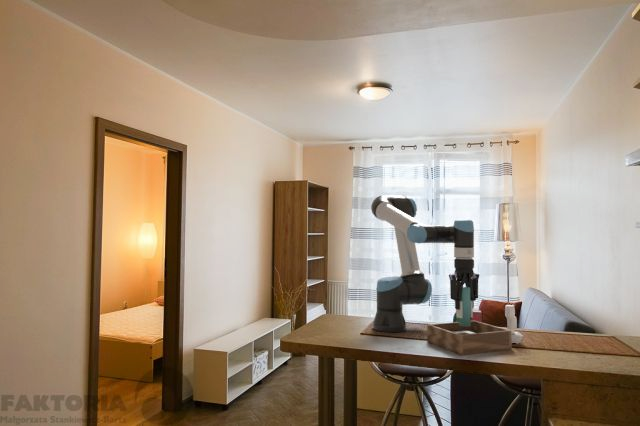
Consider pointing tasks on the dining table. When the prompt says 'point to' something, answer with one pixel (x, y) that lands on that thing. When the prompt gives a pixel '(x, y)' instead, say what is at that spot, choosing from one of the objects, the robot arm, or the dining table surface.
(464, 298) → the teal peg
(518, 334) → the figurine
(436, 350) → the dining table surface
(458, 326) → the crate
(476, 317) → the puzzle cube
